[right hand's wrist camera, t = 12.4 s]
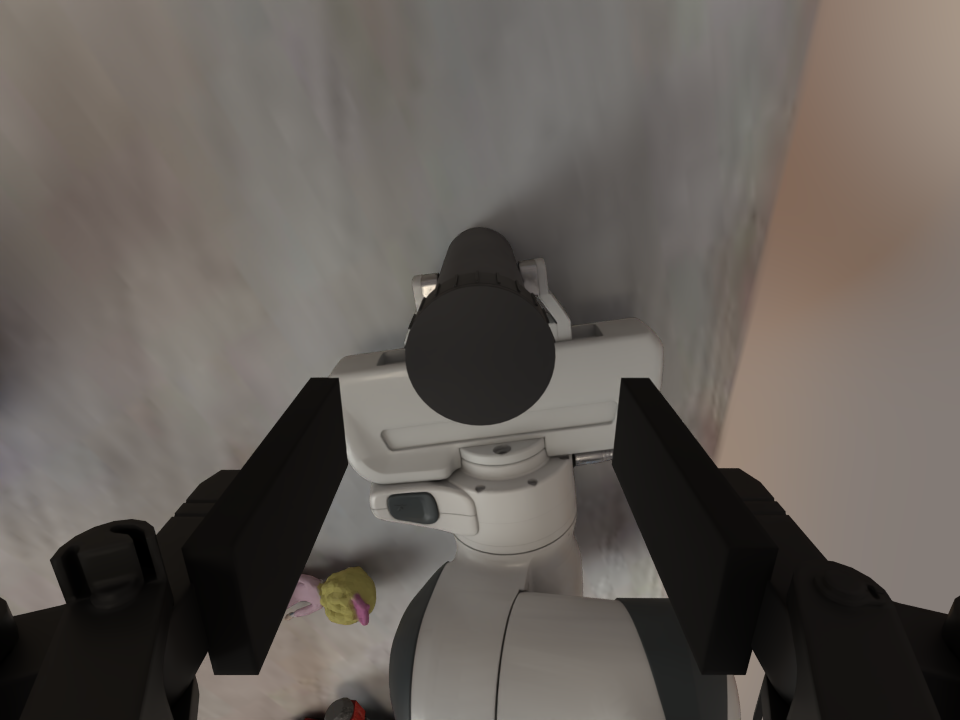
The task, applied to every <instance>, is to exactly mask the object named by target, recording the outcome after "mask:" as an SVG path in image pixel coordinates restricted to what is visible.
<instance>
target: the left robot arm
mask: <svg viewBox="0 0 960 720" xmlns="http://www.w3.org/2000/svg"><path fill="white" fill-rule="evenodd" d="M518 269H519V272H520V275H521V277H522V280H523V283H524V286H525V289H527V290H528V291H529V292H530V293H532V292H533V293H534V295H537V296H538V297H539V299H540V300H541V301H542V303H543V304H544V305H545V307H546V308H547V309H548V311H549V312H550V313H546V314H547V317H548V319H549V322H550V323H549V324H548V325H549V327H550V328H551V331H552V333H553V336H554V338H555V341H556V343H554V344H555V354H556V359H555V367H554V371H553V375H552V378H551V381H550V383H549V385H548V387H547V389H546V390H545V392H544V393H543V395H542V396H541V397H540V399H539V400H538V401H537V402H536V403H535V404H534V405H533V406H532V407H531V408H529V409H528V410H527V411H526V412H524V413H523V414H521V415H519V416H518V417H515V418H513V419H511V420H509V421H506V422H503V423H499V424H494V425H485V426H475V425H467V424H462V423H458V422H454V421H452V420H450V419H447V418H445V417H443V416H441V415H440V414H438V413H436V412H435V411H434V410H432V409H431V408H430V407H429V406H428V405H427V404H425V403H424V402H423V400H422V399H421V398H420V397H419V396H418V394H417V393H416V391H415V389H414V388H413V386H412V384H411V382H410V379H409V377H408V373H407V370H406V363H405V349H404V348H402V349H395V350H387V351H380V352H372V353H365V354H357V355H350V356H346V357H344V358H342V359H341V360H340V361H339V363H338V364H337V365H336V366H335V368H334V369H333V370H332V372H331V374H330V375H329V377H328V378H339V383H340V393H341V402H342V411H343V420H344V430H345V439H346V448H347V458H348V461H349V463H350V465H351V466H352V468H353V469H354V470H355V471H356V472H357V473H358V474H359V475H360V476H361V477H363V478H364V479H366V480H368V481H370V482H372V484H371V490H370V507H371V510H372V512H373V514H374V515H375V516H376V517H377V518H379V519H381V520H385V521H391V522H398V523H405V524H412V525H418V526H424V527H429V528H434V529H438V530H442V531H446V532H450V533H453V535H454V537H455V539H456V543H457V551H456V555H455V558H454V560H453V561H452V562H449V561H448V562H446V563H445V564H443V565H442V566H441V567H440V568H439V569H438V570H437V571H436V572H435V573H434V575H433V576H432V577H431V578H430V579H429V580H428V582H427V583H426V584H425V585H424V587H423V588H422V589H421V590H420V591H419V592H418V594H417V595H416V596H415V597H414V599H413V600H412V601H411V603H410V604H409V606H408V607H407V609H406V611H405V613H404V615H403V617H402V619H401V621H400V624H399V626H398V629H397V631H396V634H395V637H394V640H393V644H392V648H391V654H390V664H389V688H390V697H391V703H392V708H393V712H394V716H395V720H741V712H740V702H739V696H738V690H737V685H736V681H735V677H734V675H701V672H700V670H699V668H698V665H697V663H696V661H695V658H694V656H693V654H692V651H691V649H690V646H689V644H688V642H687V639H686V637H685V635H684V632H683V630H682V628H681V625H680V623H679V621H678V618H677V616H676V614H675V611H674V609H673V607H672V604H671V602H670V600H669V598H616V599H615V600H609V599H599V598H589V597H583V573H582V560H581V553H580V549H579V546H578V543H577V541H576V539H575V537H574V535H573V531H574V527H575V524H576V518H577V504H576V492H575V481H574V471H573V467H574V466H578V465H586V464H595V463H600V462H604V461H609V460H612V458H613V448H614V439H615V430H616V420H617V411H618V402H619V392H620V383H621V378H650V379H651V381H652V382H653V383H654V385H655V386H656V387H657V389H658V390H659V391H660V392H661V385H662V375H663V361H664V349H663V344H662V342H661V340H660V338H659V337H658V336H657V334H656V333H655V332H654V331H653V330H652V329H651V328H650V327H649V326H647V325H646V324H645V323H643V322H642V321H641V320H640V319H637V318H625V319H618V320H611V321H603V322H596V323H588V324H581V325H573V326H571V320H570V319H569V317H568V315H567V313H566V311H565V310H564V308H563V307H562V306H561V304H560V303H559V302H558V300H557V299H556V298H555V296H554V295H553V294H552V292H551V291H550V290H549V288H548V283H547V273H546V265H545V261H544V259H543V258H537V259H530V260H524V261H518ZM438 278H439V273H432V274H424V275H417V276H414V277H413V279H412V286H413V292H414V298H415V303H416V308H417V309H416V311H415V314H417V312H418V309H419V307H420V304H421V302H422V299H423V298H424V297H425V298H426V297H427V296H428V295H429V294H430V293H431V292H432V291H433V290H434V289H435V287H436V284H437V281H438ZM409 331H410V329H409V330H408V333H407V336H406V338H405V341H404V346H405V344H406V341H407V338H408V334H409Z"/></svg>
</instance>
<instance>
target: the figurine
mask: <svg viewBox="0 0 960 720" xmlns="http://www.w3.org/2000/svg"><path fill="white" fill-rule="evenodd" d="M300 601H307V602H310V603H311V605H309V606H306V607H303V608H300V609H298V610H296V611H295V612H291V613H289V614H287V615H286V617H285V620H290V619H291V618H293V617H294V616H296V617H299V616H304V615H308V614H311V613H313V612H315V611H317V610H319V609H321V608H322V607H323V606H324V607H325V613H326V615H327V617H328V618H329V620H330V621H331V622H335V623H338V624H343V625H350V624H353V623H356V622H357V621H359V622H360V623H361V624H362V625H364V626H365V625H368V623H369V614H370V613H371V612H372V610H373V609H374V606H375V603H376V589H375V585H374V582H373V581H372V579H371V578H370V577H369V576H368V575H367V573H366V572H365V571H364V570H363V569H362V568H361V567H359V566H358V567H354V568H353V567H349V568H347V569H346V570H342V571H340V572H337V573H333V574H332V575H331V576H329V577H328V578H327V580H326V582H325V583H324V581H323V580H321V579H320V580H319V579H317V578H315V577H313V576H311V575H305V574H301V576H300V579H299V581H298V583H297V586H296V588H295V590H294V593H293V595H292V597H291V600H290V602H289V604H288V607H287V609H288V608H289V607H291V606H293V605H294V604H296V603H297V602H300Z"/></svg>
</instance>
